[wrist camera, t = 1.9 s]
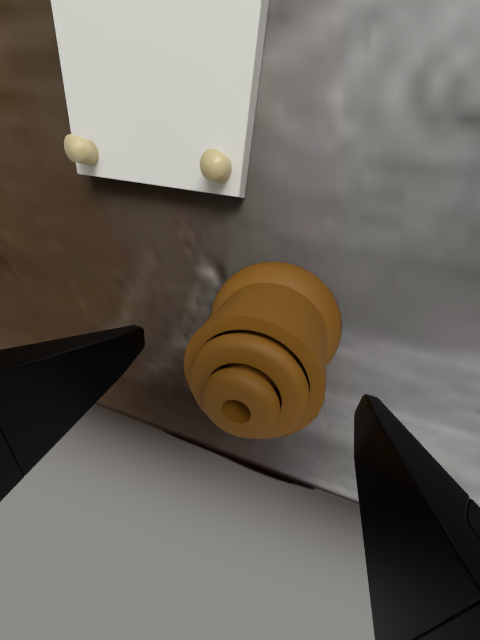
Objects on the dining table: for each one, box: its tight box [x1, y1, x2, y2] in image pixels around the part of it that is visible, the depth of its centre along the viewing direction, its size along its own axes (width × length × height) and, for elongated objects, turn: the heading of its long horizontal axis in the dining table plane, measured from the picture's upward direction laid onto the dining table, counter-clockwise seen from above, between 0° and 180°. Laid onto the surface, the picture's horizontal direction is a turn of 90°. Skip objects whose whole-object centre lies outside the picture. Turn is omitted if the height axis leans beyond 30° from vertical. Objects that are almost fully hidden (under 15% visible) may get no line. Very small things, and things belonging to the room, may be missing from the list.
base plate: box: [51, 0, 269, 198], centre depth 10 cm, size 10×10×2 cm
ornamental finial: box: [184, 262, 342, 439], centre depth 11 cm, size 8×8×8 cm
